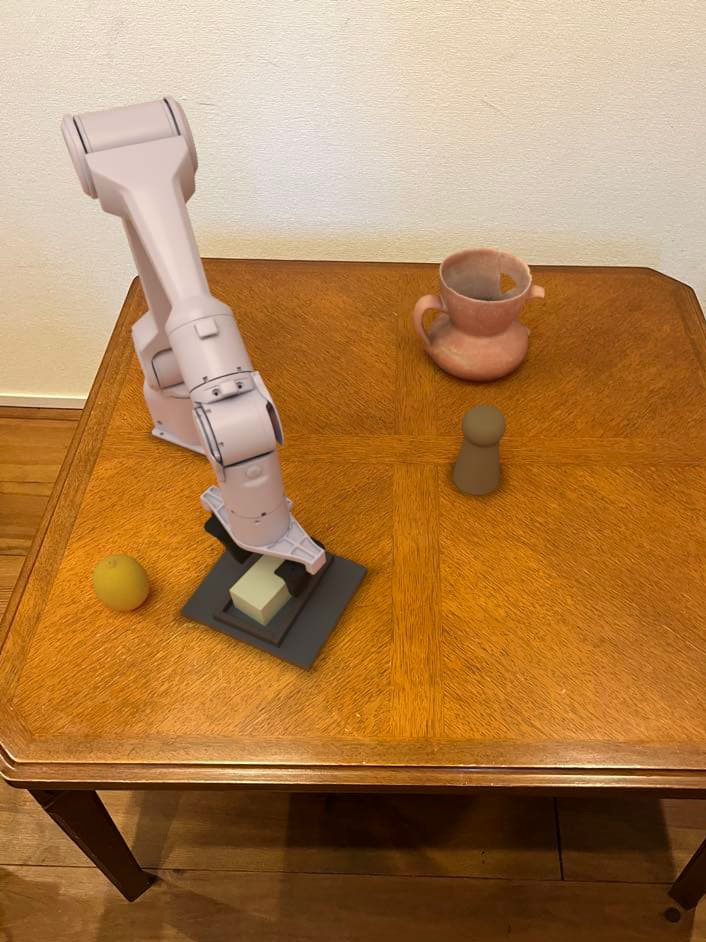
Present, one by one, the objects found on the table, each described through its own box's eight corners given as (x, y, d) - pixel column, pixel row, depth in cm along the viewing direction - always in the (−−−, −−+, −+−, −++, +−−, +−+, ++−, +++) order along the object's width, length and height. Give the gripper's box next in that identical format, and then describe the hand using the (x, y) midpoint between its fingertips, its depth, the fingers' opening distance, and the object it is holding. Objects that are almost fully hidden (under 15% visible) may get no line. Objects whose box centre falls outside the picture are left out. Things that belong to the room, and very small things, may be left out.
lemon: (110, 583, 84) (87, 542, 77) (159, 580, 84) (140, 539, 78) (102, 625, 81) (78, 586, 74) (154, 622, 81) (134, 583, 75)
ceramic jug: (520, 322, 113) (535, 237, 101) (543, 387, 104) (563, 302, 93) (404, 331, 111) (405, 245, 99) (418, 397, 103) (421, 312, 91)
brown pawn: (496, 499, 92) (508, 437, 83) (449, 490, 93) (455, 429, 84) (502, 463, 96) (514, 401, 87) (456, 456, 96) (463, 393, 87)
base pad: (182, 615, 82) (177, 605, 80) (249, 524, 89) (246, 513, 87) (308, 672, 78) (306, 662, 76) (367, 572, 85) (367, 561, 84)
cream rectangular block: (234, 606, 81) (228, 590, 78) (286, 552, 86) (283, 534, 83) (265, 626, 80) (260, 610, 77) (316, 569, 84) (314, 552, 81)
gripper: (341, 501, 69) (347, 580, 80) (225, 436, 73) (246, 519, 84) (293, 552, 65) (307, 627, 76) (174, 480, 70) (203, 561, 81)
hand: (272, 573), depth 80 cm, fingers open, 7 cm apart
